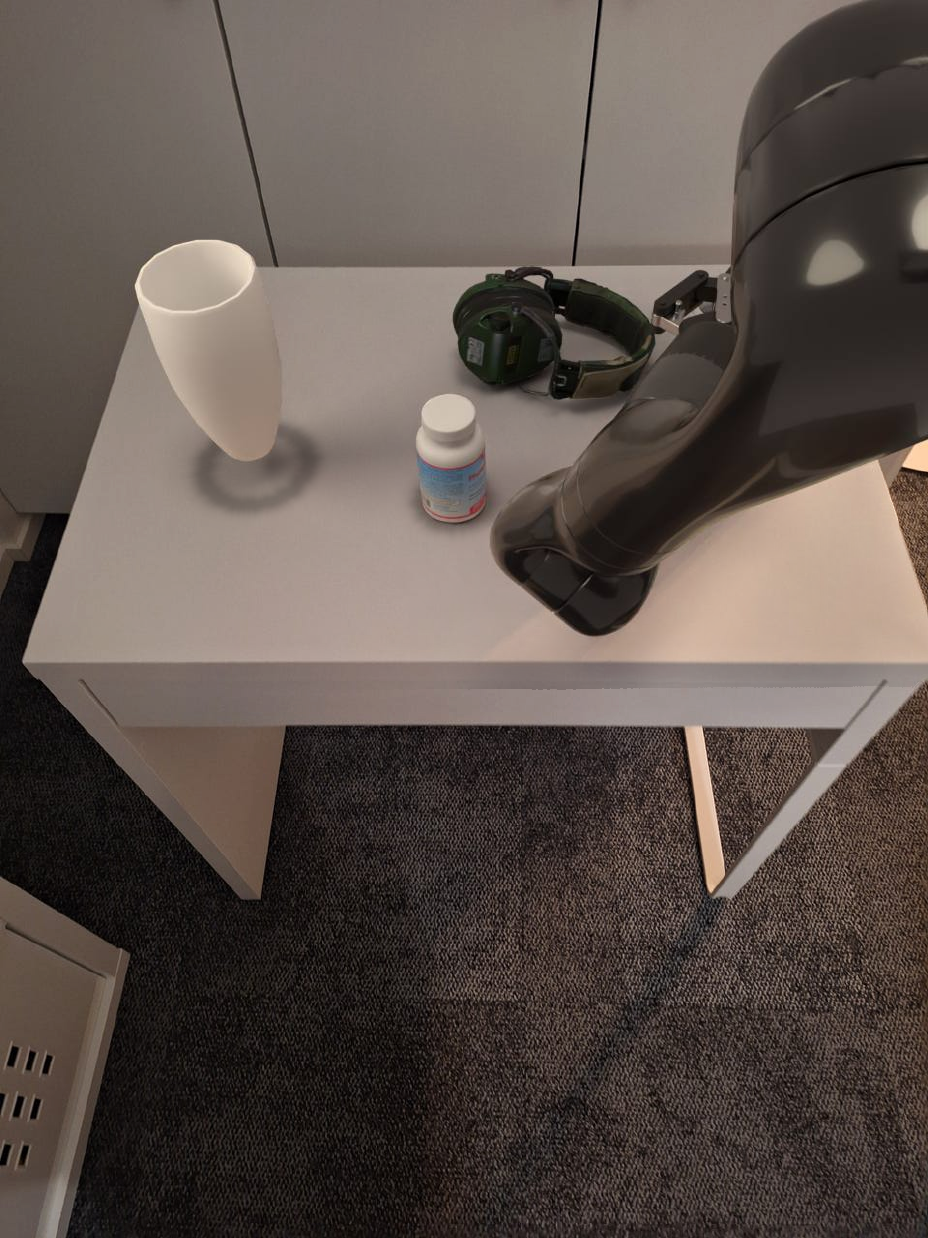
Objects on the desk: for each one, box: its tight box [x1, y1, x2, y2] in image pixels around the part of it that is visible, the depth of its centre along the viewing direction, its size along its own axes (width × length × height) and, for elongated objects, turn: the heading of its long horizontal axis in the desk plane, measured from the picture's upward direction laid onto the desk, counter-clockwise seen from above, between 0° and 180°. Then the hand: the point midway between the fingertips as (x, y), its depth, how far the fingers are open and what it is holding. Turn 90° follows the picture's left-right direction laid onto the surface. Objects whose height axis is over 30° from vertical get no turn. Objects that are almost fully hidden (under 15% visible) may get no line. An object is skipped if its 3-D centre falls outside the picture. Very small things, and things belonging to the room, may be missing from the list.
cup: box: [134, 239, 283, 462], centre depth 81 cm, size 10×10×22 cm
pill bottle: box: [415, 393, 487, 523], centre depth 82 cm, size 6×6×11 cm
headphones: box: [452, 265, 656, 401], centre depth 93 cm, size 13×13×20 cm
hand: (786, 276), depth 72 cm, fingers closed on supplement bottle, 5 cm apart
